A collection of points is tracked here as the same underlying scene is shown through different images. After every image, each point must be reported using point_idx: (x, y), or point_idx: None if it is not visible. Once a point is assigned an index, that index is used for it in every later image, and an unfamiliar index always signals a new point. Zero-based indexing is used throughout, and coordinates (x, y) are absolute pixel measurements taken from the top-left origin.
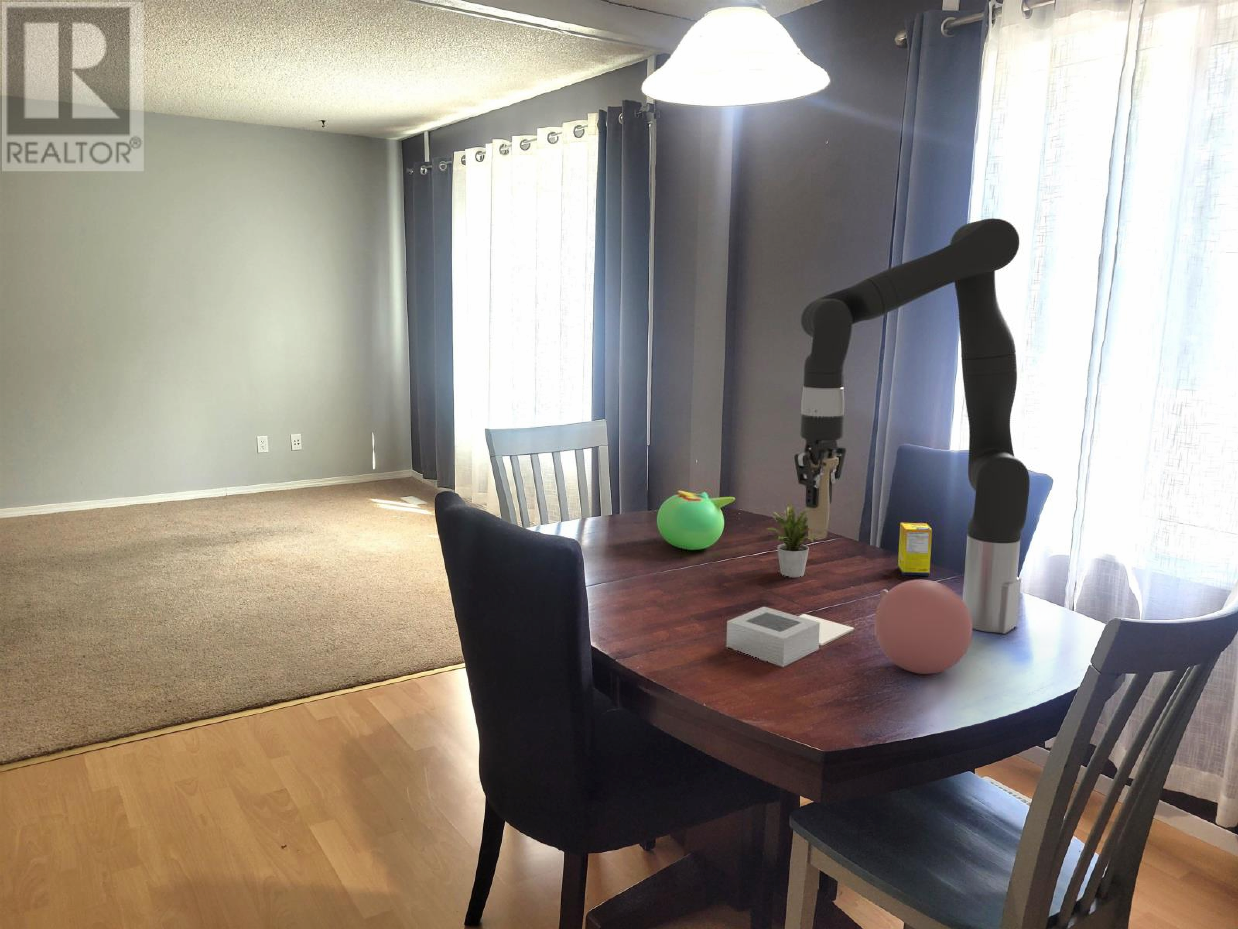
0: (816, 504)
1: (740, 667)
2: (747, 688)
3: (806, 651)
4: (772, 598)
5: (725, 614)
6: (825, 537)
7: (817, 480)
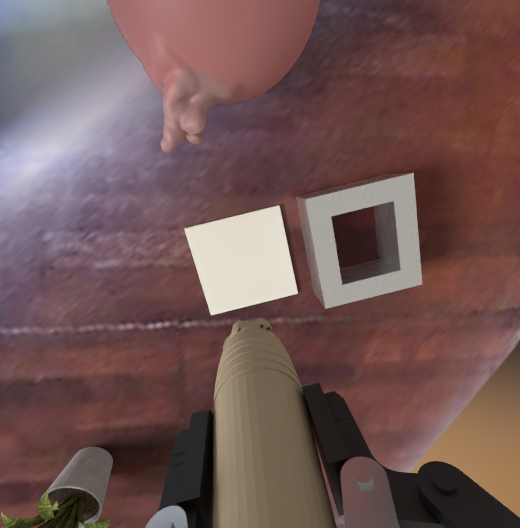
0: (318, 389)
1: (433, 206)
2: (480, 143)
3: (330, 188)
4: (200, 391)
5: (307, 370)
6: (239, 320)
7: (375, 509)
